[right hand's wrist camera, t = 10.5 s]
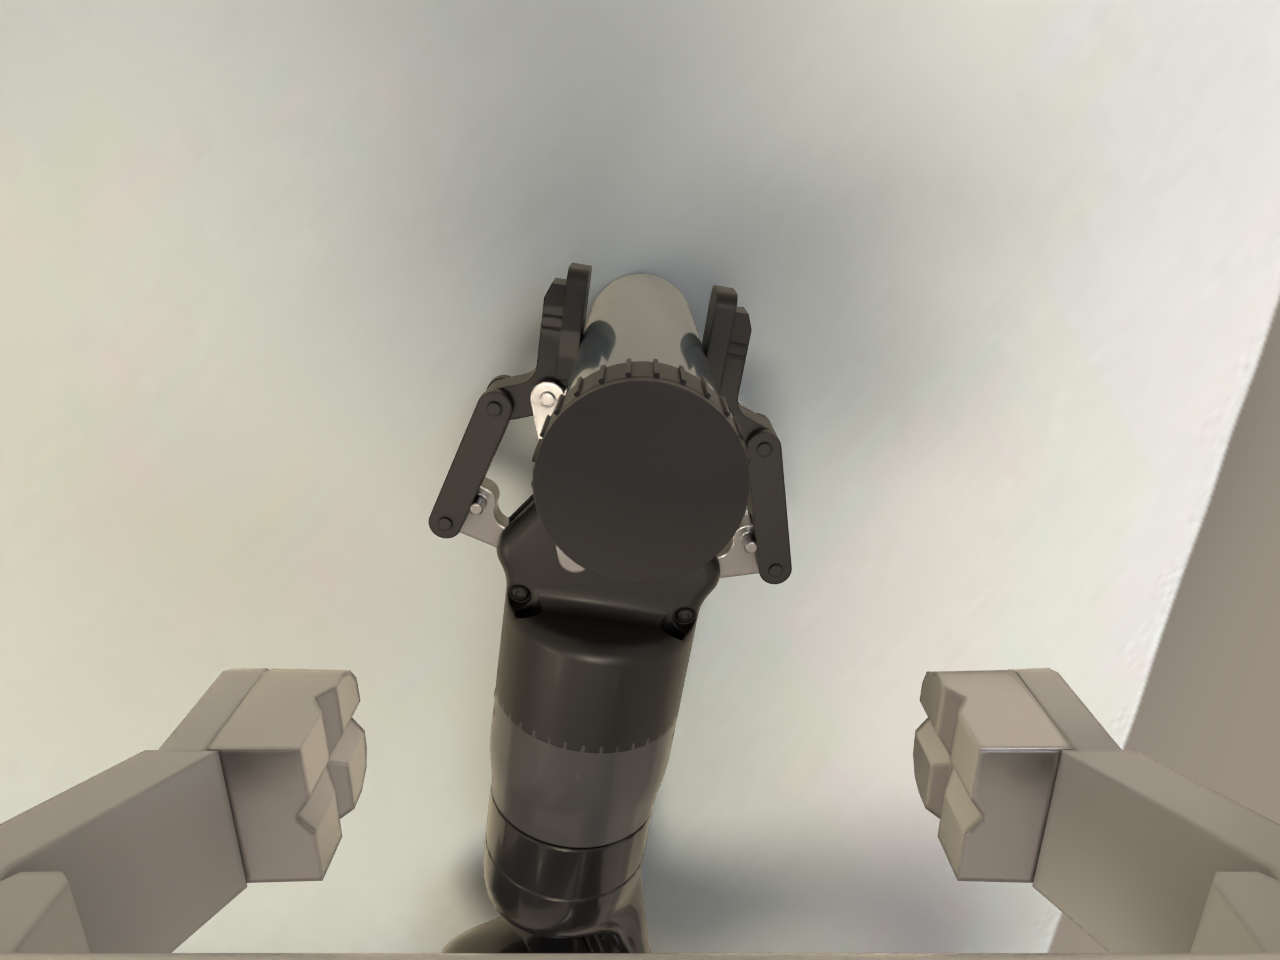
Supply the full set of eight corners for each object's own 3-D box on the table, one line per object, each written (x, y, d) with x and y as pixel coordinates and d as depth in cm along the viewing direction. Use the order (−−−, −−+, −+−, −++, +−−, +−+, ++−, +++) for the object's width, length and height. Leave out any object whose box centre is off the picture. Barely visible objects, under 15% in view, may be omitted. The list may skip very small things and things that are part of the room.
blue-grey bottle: (702, 362, 36) (758, 545, 19) (603, 386, 36) (572, 587, 19) (679, 261, 35) (717, 361, 17) (577, 287, 35) (517, 409, 18)
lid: (761, 526, 20) (773, 561, 19) (570, 569, 21) (563, 607, 19) (720, 334, 19) (729, 352, 17) (513, 385, 19) (500, 408, 17)
